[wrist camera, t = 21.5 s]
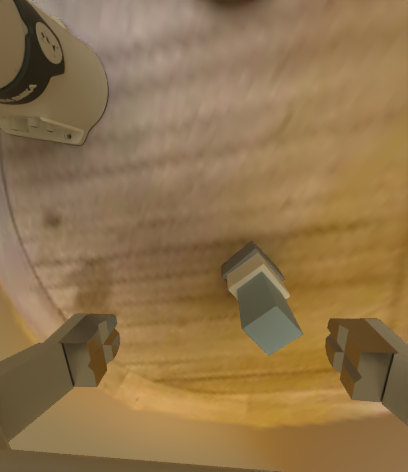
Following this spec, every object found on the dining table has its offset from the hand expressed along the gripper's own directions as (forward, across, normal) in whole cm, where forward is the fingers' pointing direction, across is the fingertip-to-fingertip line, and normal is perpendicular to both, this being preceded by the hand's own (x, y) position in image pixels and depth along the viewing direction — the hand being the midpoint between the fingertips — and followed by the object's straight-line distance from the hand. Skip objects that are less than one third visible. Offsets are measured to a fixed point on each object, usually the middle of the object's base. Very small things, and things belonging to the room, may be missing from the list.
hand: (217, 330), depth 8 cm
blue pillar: (+23, -6, +12) cm, 27 cm away
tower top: (+28, -6, +12) cm, 31 cm away
